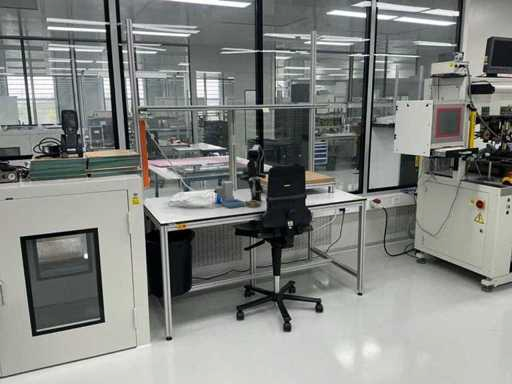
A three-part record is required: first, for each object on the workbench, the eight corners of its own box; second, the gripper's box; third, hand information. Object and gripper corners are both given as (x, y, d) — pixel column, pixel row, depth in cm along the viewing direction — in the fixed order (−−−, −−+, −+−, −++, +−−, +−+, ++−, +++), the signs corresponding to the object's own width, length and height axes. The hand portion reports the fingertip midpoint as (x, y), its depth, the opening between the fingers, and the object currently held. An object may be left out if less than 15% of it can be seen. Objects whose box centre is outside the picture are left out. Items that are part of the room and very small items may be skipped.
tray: (236, 202, 310) (236, 198, 310) (244, 205, 302) (244, 201, 301) (221, 205, 303) (221, 201, 302) (229, 208, 294) (229, 204, 294)
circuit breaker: (213, 201, 315) (213, 181, 312) (232, 200, 319) (231, 180, 315) (214, 203, 308) (214, 183, 305) (234, 202, 311) (233, 182, 308)
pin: (253, 195, 303) (253, 180, 301) (257, 196, 300) (257, 181, 298) (249, 195, 301) (249, 180, 298) (252, 196, 297) (252, 181, 295)
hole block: (254, 204, 307) (254, 200, 307) (260, 206, 301) (260, 202, 300) (245, 205, 303) (245, 201, 302) (251, 207, 296) (251, 203, 296)
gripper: (257, 164, 308) (257, 185, 311) (235, 167, 297) (236, 188, 300) (266, 166, 299) (266, 188, 302) (244, 169, 288) (244, 191, 291)
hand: (253, 189), depth 299 cm, fingers closed on pin, 3 cm apart
